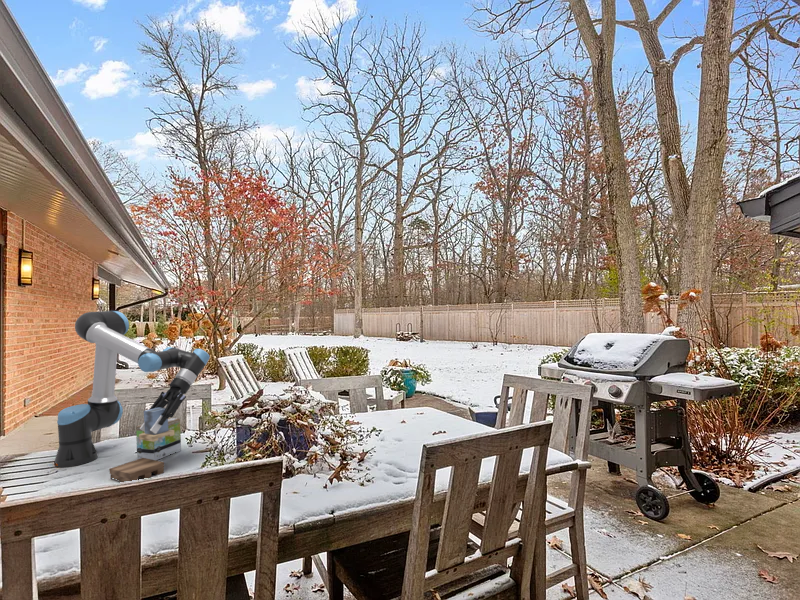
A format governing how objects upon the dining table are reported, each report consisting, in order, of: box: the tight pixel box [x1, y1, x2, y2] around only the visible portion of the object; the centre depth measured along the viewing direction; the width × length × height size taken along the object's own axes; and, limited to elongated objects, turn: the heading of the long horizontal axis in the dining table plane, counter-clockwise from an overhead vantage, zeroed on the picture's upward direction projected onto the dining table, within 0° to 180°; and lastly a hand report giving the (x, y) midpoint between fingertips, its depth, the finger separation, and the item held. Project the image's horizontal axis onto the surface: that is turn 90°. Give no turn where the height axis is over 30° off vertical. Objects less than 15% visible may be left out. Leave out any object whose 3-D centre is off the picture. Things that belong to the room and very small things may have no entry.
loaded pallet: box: [139, 407, 175, 442], centre depth 185 cm, size 9×9×11 cm
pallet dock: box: [109, 458, 165, 483], centre depth 178 cm, size 14×13×4 cm
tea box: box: [135, 417, 182, 461], centre depth 202 cm, size 15×10×15 cm
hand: (147, 431), depth 182 cm, fingers closed on loaded pallet, 6 cm apart
